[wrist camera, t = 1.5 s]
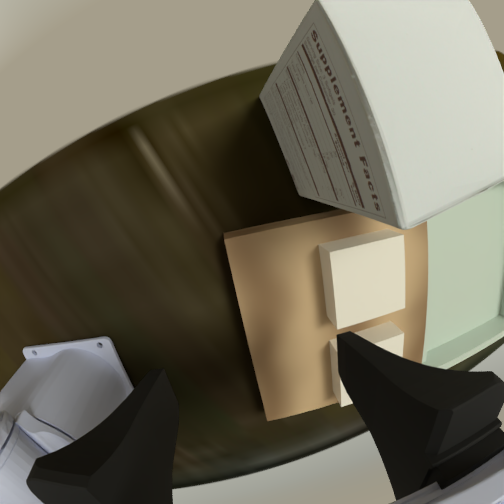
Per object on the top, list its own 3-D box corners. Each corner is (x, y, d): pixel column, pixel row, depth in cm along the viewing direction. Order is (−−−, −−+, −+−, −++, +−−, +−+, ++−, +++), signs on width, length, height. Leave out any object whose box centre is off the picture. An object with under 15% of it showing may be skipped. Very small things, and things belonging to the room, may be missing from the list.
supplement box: (352, 69, 18) (473, -4, 6) (387, 165, 20) (532, 174, 8) (254, 94, 18) (311, -12, 6) (295, 199, 20) (406, 240, 8)
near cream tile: (326, 315, 20) (337, 329, 18) (318, 244, 19) (329, 252, 17) (390, 296, 20) (405, 307, 18) (387, 228, 19) (403, 234, 17)
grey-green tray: (411, 361, 25) (427, 378, 22) (409, 178, 20) (434, 180, 17) (500, 316, 25) (517, 327, 23) (507, 166, 21) (528, 168, 18)
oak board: (264, 405, 24) (267, 421, 22) (223, 232, 20) (224, 239, 18) (409, 359, 25) (420, 370, 23) (409, 196, 21) (425, 198, 19)
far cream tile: (332, 390, 22) (341, 406, 20) (329, 340, 20) (339, 355, 19) (388, 371, 22) (399, 385, 20) (390, 320, 21) (404, 333, 19)
